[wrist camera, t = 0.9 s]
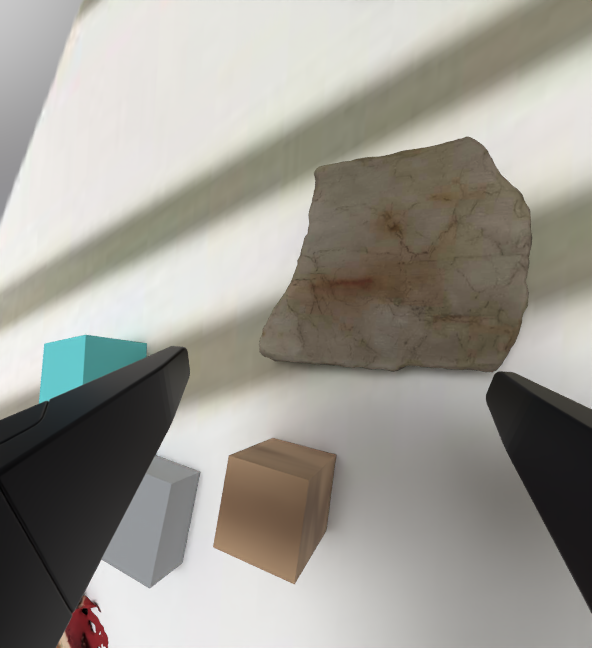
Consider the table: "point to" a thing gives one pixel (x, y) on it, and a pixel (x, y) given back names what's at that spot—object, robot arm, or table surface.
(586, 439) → the robot arm
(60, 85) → the table surface
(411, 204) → the marble piece
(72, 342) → the teal cube
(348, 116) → the table surface
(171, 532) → the grey slab
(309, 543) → the walnut cube
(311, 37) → the table surface
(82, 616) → the plate with food
